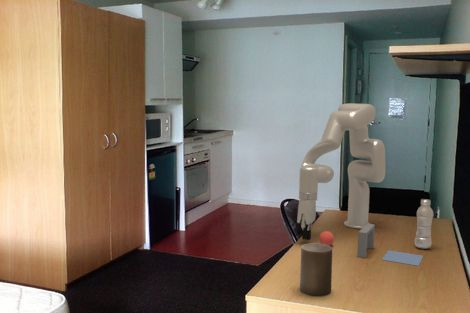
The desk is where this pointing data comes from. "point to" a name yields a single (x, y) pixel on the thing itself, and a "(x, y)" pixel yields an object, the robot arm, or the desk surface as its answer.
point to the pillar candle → (316, 269)
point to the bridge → (365, 240)
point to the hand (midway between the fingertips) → (306, 239)
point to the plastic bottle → (424, 225)
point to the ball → (326, 238)
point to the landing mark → (403, 258)
